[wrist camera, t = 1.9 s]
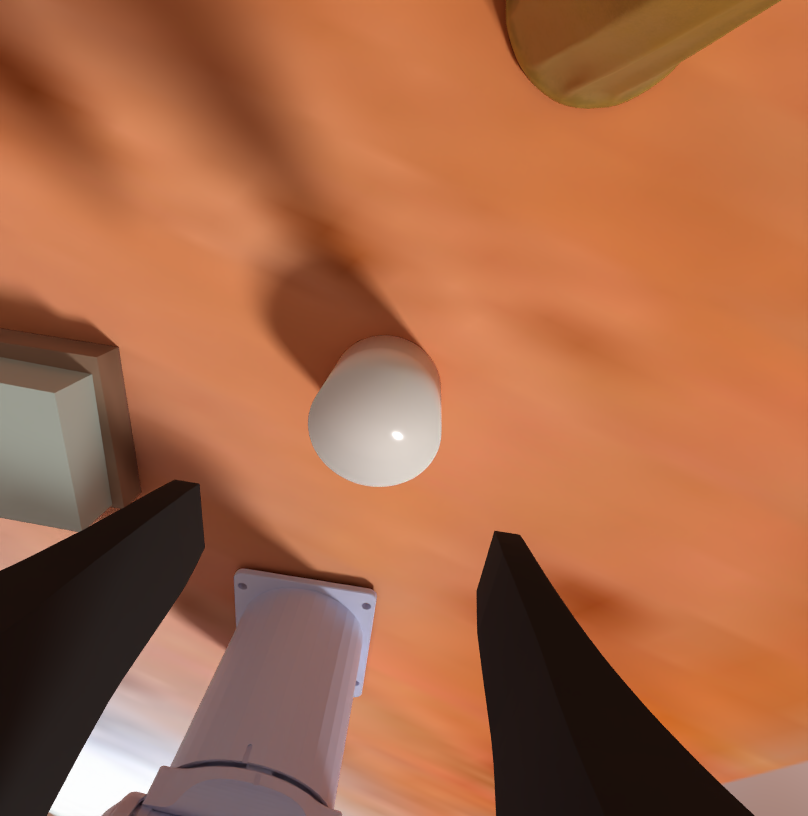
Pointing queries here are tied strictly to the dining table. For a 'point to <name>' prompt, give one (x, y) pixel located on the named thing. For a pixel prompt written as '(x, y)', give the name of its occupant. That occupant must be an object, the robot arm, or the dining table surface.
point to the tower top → (50, 447)
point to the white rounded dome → (378, 413)
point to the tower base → (107, 392)
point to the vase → (614, 42)
